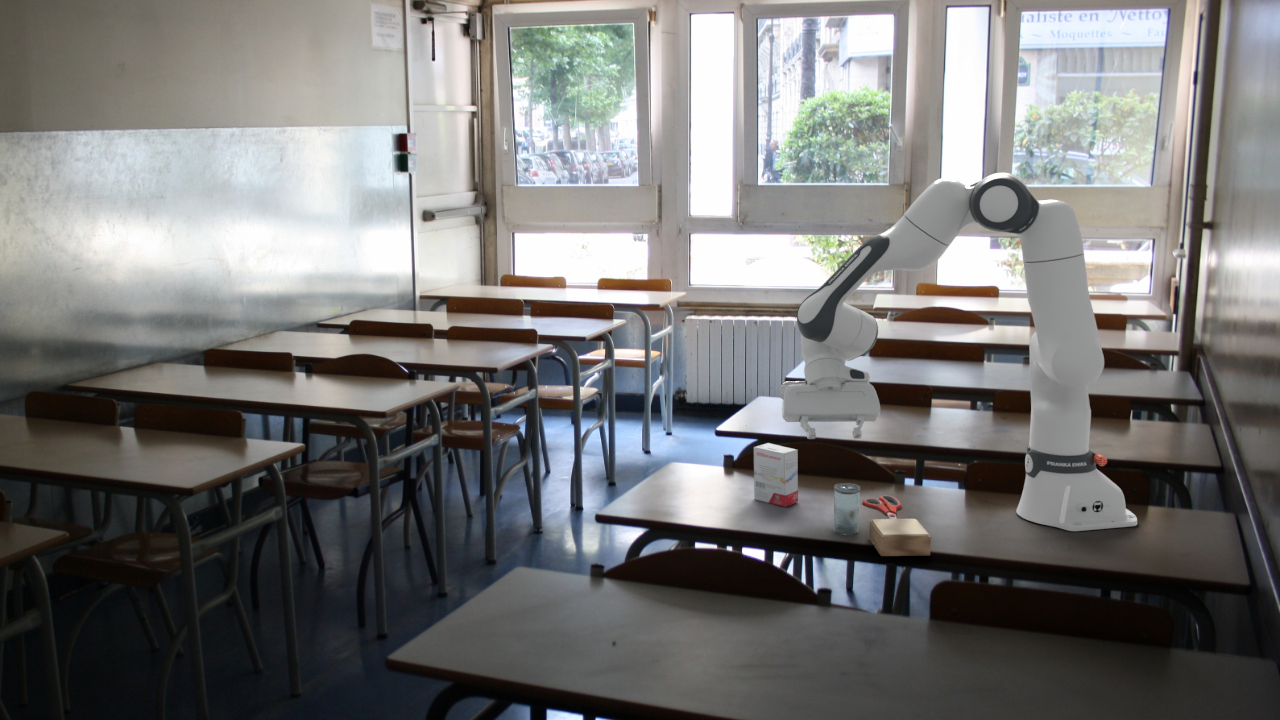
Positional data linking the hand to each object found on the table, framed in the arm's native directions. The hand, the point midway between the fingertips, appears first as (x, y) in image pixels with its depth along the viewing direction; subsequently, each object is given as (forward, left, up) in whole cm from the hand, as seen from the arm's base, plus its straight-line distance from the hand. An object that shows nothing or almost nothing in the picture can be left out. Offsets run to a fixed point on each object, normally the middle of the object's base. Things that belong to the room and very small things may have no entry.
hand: (834, 437), depth 206 cm
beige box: (-8, +21, -16) cm, 28 cm away
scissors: (-12, +3, -16) cm, 21 cm away
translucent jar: (0, +12, -16) cm, 20 cm away
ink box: (+11, -7, -16) cm, 20 cm away
